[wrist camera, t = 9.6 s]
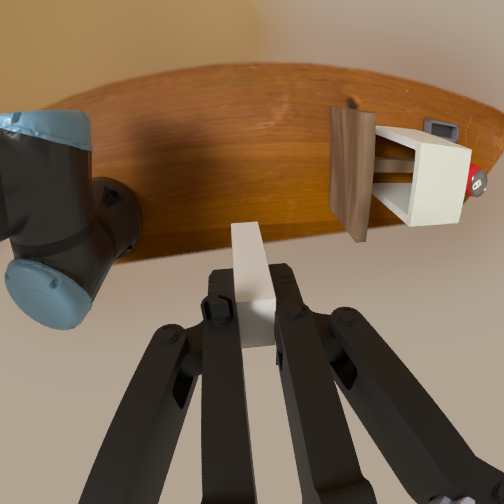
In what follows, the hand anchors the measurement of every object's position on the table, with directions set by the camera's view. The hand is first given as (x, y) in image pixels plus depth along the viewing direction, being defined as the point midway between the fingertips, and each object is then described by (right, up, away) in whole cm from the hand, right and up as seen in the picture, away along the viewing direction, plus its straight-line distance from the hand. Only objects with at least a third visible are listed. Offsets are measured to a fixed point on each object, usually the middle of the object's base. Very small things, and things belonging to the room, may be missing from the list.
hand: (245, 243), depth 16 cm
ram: (+23, +15, +25) cm, 37 cm away
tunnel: (+25, +16, +26) cm, 39 cm away
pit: (+35, +22, +22) cm, 47 cm away
